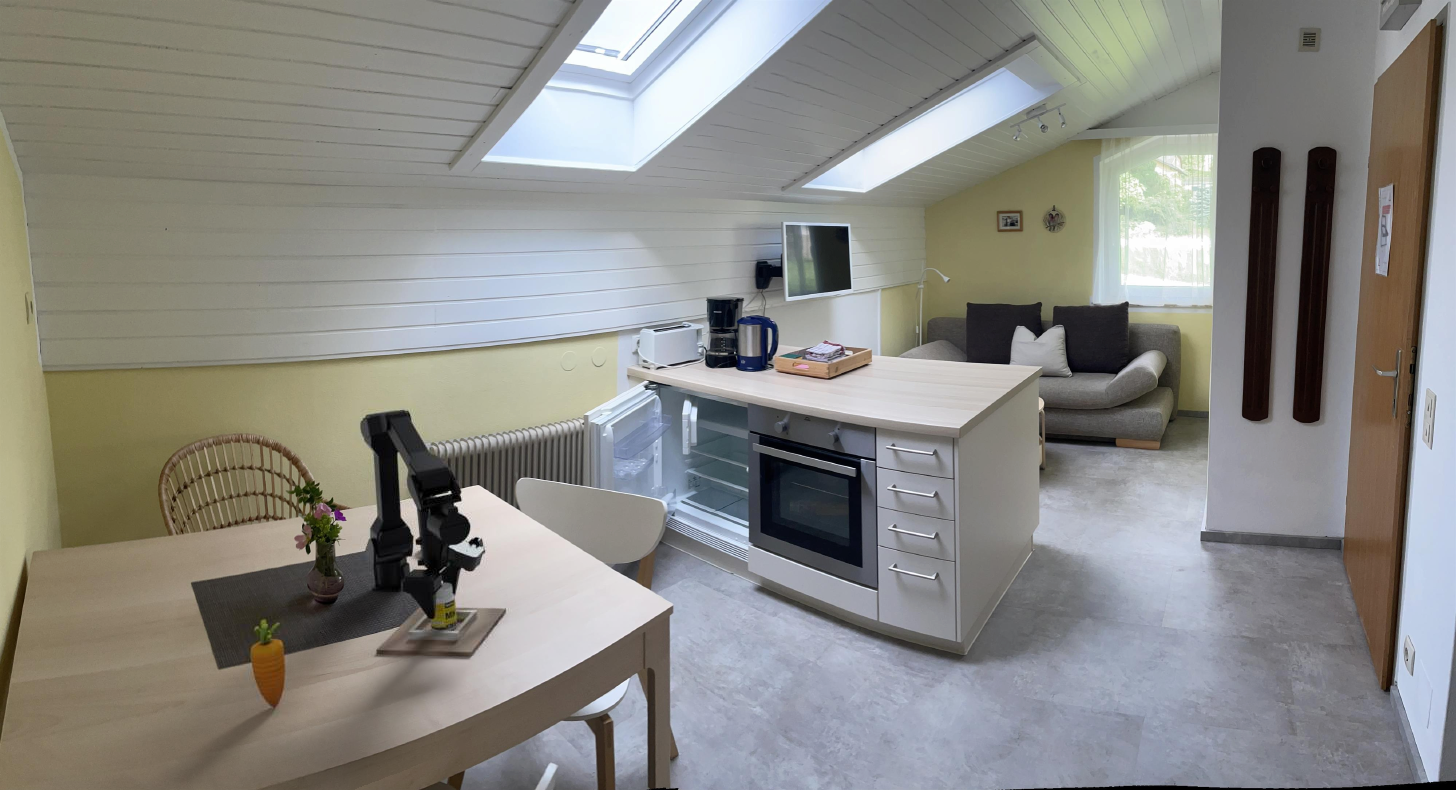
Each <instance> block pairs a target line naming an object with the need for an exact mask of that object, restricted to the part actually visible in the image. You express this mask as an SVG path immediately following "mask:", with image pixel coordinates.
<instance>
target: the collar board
mask: <svg viewBox="0 0 1456 790" xmlns="http://www.w3.org/2000/svg"><path fill="white" fill-rule="evenodd" d="M506 613H507V608H501V607H500V608H497V607H496V608H495V607H490V608H489V607H456V617H457V626H456V627H455V628H454V629H453V630H451V631H433V630H432V629H431V619H429V618H428V617H427V616H426V614H425V613H424V611H423V610H422V608H421V607H420V606H419V607H418V608H417V609H416V610H415V611H414V612H413V613H412V614H411V615H410V616H409V617H408V618H407V619H406V620H405V621H404V622H403V623H402V624H401V625H400V626H398V628H397V629H396V630H395V631H393V633H392V634H391V635H390V636H389V637H388V638H387V639H385V641H383V642H382V643H381V644H380V645H379V646H378V647H377V648H376V649H375V650H376V651H375V653H376V655H402V656H403V655H405V656H406V655H409V656H411V655H412V656H445V657H447V656H449V657H452V656H453V657H472V656H473V655H474V654H475V652H476V651H477V650H478V649H479V648H480V647H481V645H482V643H483V642H484V641H485V640H486V638H487V637H488V636H489V634H491V632H492V631H493V630H494V629H495V627H496V626H497V624H498V623H499V622H500V621H501V619H502V618H503V617H504V616H505V615H506Z"/></svg>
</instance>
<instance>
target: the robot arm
mask: <svg viewBox="0 0 1456 790" xmlns="http://www.w3.org/2000/svg"><path fill="white" fill-rule="evenodd" d="M359 425H360V426H359V429H360V433H361V436H362V437H363V441H364V442H365V443H366V445H367V446H368V448H369V449H370V450H371V451H372V453H373V467H374V481H375V497H376V500H375V501H376V512H377V513H376V514H377V515H376V518H375V520H373V523H372V525H371V526H370V528H369V533H370V534H369V538H368V541H367V543H366V546H365V550H364V554H365V559H366V561H367V562H368V563H369V564H370V565H371V566H372V569H373V575H374V576H373V578H374V585H373V586H372V587H371V591H383V592H384V591H385V592H386V591H389V592H390V591H391V592H393V591H394V592H399V591H401V592H403V593H406V594H408V595H409V594H410V596H411V597H412V599H413V600H414V601H415V602H416V603H417V604H418V606H419V607H421V608H422V610H423V611H424V613H425V614H426V616H427V617H428V618H429V619H434V618H435V612H436V593H437V592H438V591H439V590H440V589H441V587H442V586H443V585H441V583H450V584H451V585H452V590H453V591H452V593H453V594H454V596H455V597H456V595H457V589H458V585H459V579H460V574H461V572H462V571H461V570H462V569H463V570H464V571H466V572H474V571H475V570H476V568H478V567H479V566H480V565H481V561H482V558H483V556H484V554H485V553H486V549H485V546H484V540H483V537H481V536H479V535H474V536H473V537H472V538H471V539H470V540H467V538H468V537H469V535H470V532H471V522H470V521H469V518H468V517H467V516H465V515H463V514H462V513H461V512H459V507H458V506H457V505H455V504H456V503H460V502H462V501H463V499H462V495H461V494H462V489H461V487H460V484H459V482H458V480H457V478H456V476H455V473H453V470H452V468H451V467H449V466H448V464H446V462H445V461H444V460H443V458H442V457H440V456H438V455H435V454H432V453H431V452H430V450H429V449H428V447H427V445H426V443H425V441H424V440H423V438H422V436H421V435H420V433H419V432H418V430H417V428H416V427H415V425H414V424H413V422H412V415H411V413H410V411H409V410H408V409H407V410H405V409H399V410H388V411H382V412H375V413H369V414H366V415H365V416H364V417H363V418H362V420H361V421H360V423H359ZM398 454H399V455H400V457H401V459H402V460H403V462H404V464H405V466H406V467H407V477H406V486H407V490H408V492H409V494H410V497H411V499H412V501H413V502H414V505H415V506H416V515H417V524H418V537H417V538H416V539H415V538H414V537H415V536H414V535H413V534H412V531H411V528H410V526H409V525H408V524H407V523H406V521H404V519H403V518H402V515H401V514H402V512H401V511H402V509H401V494H400V492H401V490H400V478H399V477H400V475H399V460H398V459H399V458H398V456H399V455H398ZM449 492H450V493H449ZM414 541H415V545H416V546H420V555H421V557H420V558H419V559H417V566H418V567H419V566H420V567H421V566H422V567H424V569H421V568H419V569H415V568H413V569H412V570H411V567H410V562H408V558H409V557H413V552H414Z"/></svg>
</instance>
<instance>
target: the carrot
mask: <svg viewBox="0 0 1456 790" xmlns="http://www.w3.org/2000/svg"><path fill="white" fill-rule="evenodd" d="M280 625H281V623H280V622H276V623H274V625H272V626H271V628H270V629H268V626H269V624H267V620H266V619H265V618H264V619H262V620H260V626H258V625H257V626H255V627H254V632H255V634H256V635H257V637H258V638H259V639H260V640H259V641H258V642H256V643H255V644H253V645H252V646H251V648H250V660H251V668H252V671H253V676H254V677H253V678H254V680H255V683H256V685H257V688H258V690H259V692H260V695H261V696H262V698H263V699H264V700H265V702H266V703H267V704H268V705H269V706H270V707H273V708H276V707H277V706H278V705H279V703H280V701H281V699H282V696H283V693H284V689H285V681H286V680H285V677H286V665H285V664H286V663H285V651H284V650H285V649H284V643H283V641H282V640H280V639H276V638H272V636H273V633H274V632H275V630H276V629H277V628H278V627H279V626H280ZM260 627H261V628H260Z"/></svg>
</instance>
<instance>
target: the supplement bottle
mask: <svg viewBox="0 0 1456 790" xmlns="http://www.w3.org/2000/svg"><path fill="white" fill-rule="evenodd" d="M441 585H443V586H442V587H441V589H440V590H439V591H438V592H437V593H436V612H435V618H434V619H431V629H432V630H433V631H451V630H453V629H454V628H455V627H456V626H457V617H456V608H457V606H456V595H455V596H454V594H453V593H452V591H453V590H452V585H451V584H450V583H443V582H441Z"/></svg>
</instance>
